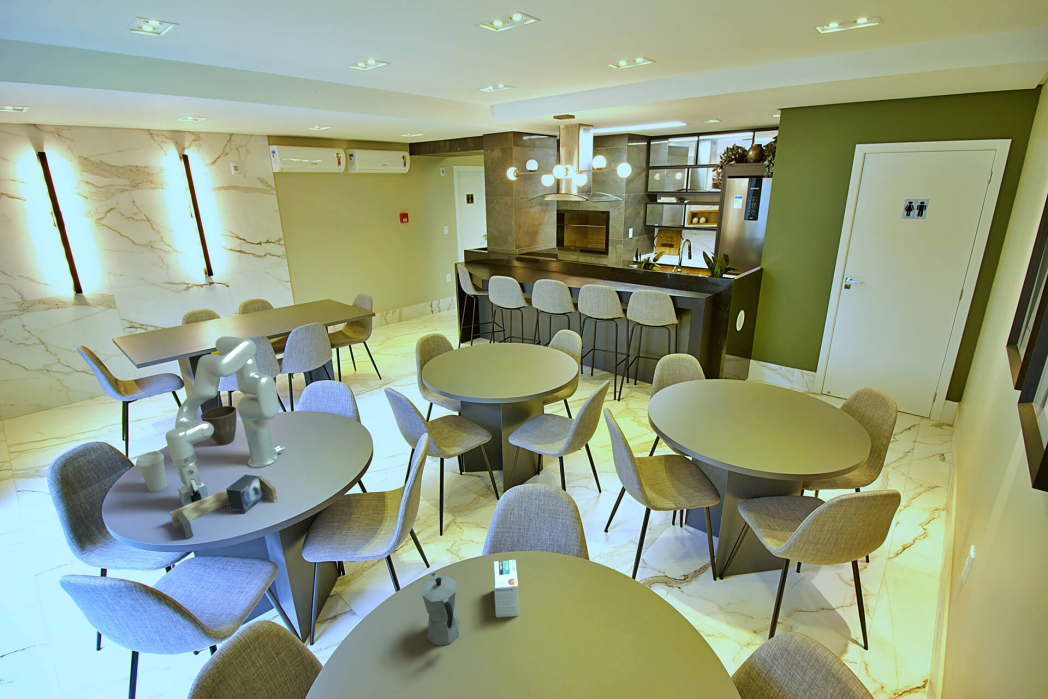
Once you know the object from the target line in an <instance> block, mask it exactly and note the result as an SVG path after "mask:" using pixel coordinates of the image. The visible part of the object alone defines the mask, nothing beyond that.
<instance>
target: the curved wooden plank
mask: <svg viewBox="0 0 1048 699" xmlns="http://www.w3.org/2000/svg"><path fill="white" fill-rule="evenodd" d="M257 476H258V477H259V482H260V487H261V492H263V493H264V494H266V496H267V497H268V498H269V499H270V500H272V501H273V502H274V503H276V502H278V495H277V491H276V490H277V489H276V487H274V486H273V485H272V484H271V483H270V482H269V481H268V480H267V479H266V478H264V477H263V475H261V474H260V475H257ZM226 489H227V488H225V489H223V490H221V491H219V492H216V493H214V494H211V495H208V497H206V498H203V499H201V500H198V501H196V502H193V503H191V504H189V505H186V506H184V507H183V506H182V507H179V508H177V509H173V510H171V511H169V514H170V518H171V520H172V524H173V527H174V528H176V527H179V526H178V522H177V519H176V515H175V513H178V512H180V511H182V513H183V514H184V515H185V517H186V518H187V519H188V521H189V522H190V521H193V520H195V519H197V518H199V517H202V516H204V515H207V514H209V513H212V512H214V511H216V510H218V509H221V508H224V507H225V506H228V505H230V504H229V500H228V495H227V491H226Z"/></svg>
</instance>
